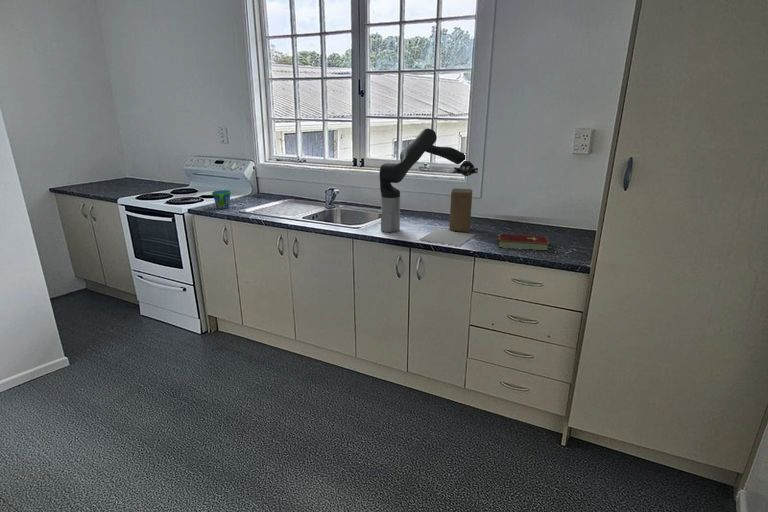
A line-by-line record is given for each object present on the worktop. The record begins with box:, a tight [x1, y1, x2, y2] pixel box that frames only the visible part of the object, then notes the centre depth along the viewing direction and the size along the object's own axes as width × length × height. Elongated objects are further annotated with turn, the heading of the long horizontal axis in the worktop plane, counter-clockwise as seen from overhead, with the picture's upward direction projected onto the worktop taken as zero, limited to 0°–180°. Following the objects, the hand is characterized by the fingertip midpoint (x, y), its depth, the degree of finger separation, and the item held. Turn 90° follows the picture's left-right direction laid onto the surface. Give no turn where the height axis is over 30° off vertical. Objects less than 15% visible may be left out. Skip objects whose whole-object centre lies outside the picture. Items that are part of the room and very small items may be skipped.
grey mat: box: [418, 228, 475, 247], centre depth 215 cm, size 21×20×1 cm
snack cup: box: [211, 189, 232, 210], centre depth 275 cm, size 16×10×10 cm
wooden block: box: [449, 188, 473, 233], centre depth 226 cm, size 10×10×20 cm
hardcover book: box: [498, 233, 550, 251], centre depth 203 cm, size 12×21×4 cm, turn 75°
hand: (464, 172), depth 231 cm, fingers closed
